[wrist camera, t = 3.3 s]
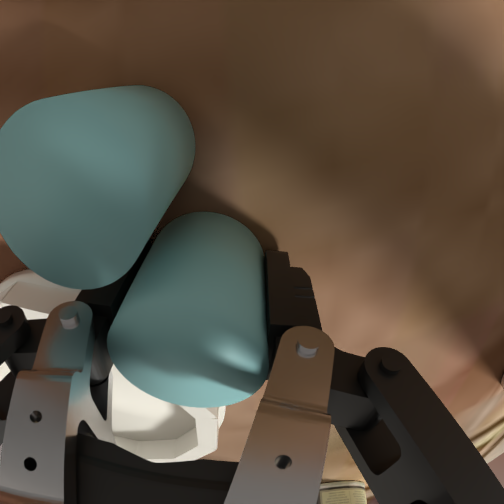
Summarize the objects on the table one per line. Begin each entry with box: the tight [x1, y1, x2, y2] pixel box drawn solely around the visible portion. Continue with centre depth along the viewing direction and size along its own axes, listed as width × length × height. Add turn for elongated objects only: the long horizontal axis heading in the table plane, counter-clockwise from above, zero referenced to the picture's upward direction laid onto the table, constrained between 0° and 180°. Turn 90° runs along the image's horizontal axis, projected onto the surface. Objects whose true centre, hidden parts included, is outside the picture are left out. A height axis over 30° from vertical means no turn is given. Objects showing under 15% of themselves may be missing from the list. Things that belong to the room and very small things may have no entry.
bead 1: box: [0, 85, 195, 290], centre depth 7 cm, size 4×4×4 cm
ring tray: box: [0, 269, 226, 463], centre depth 14 cm, size 15×15×2 cm
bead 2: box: [107, 212, 269, 408], centre depth 9 cm, size 4×4×4 cm
